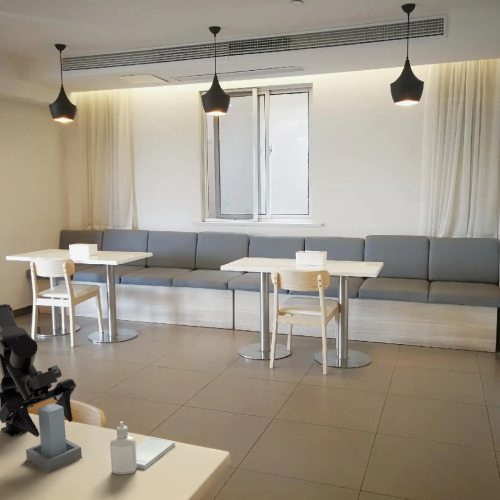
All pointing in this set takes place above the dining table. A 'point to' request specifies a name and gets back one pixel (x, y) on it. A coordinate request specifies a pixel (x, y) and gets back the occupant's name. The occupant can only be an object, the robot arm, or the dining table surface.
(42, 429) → the block
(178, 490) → the dining table surface
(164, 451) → the hard drive
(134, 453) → the eye dropper bottle
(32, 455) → the frame
